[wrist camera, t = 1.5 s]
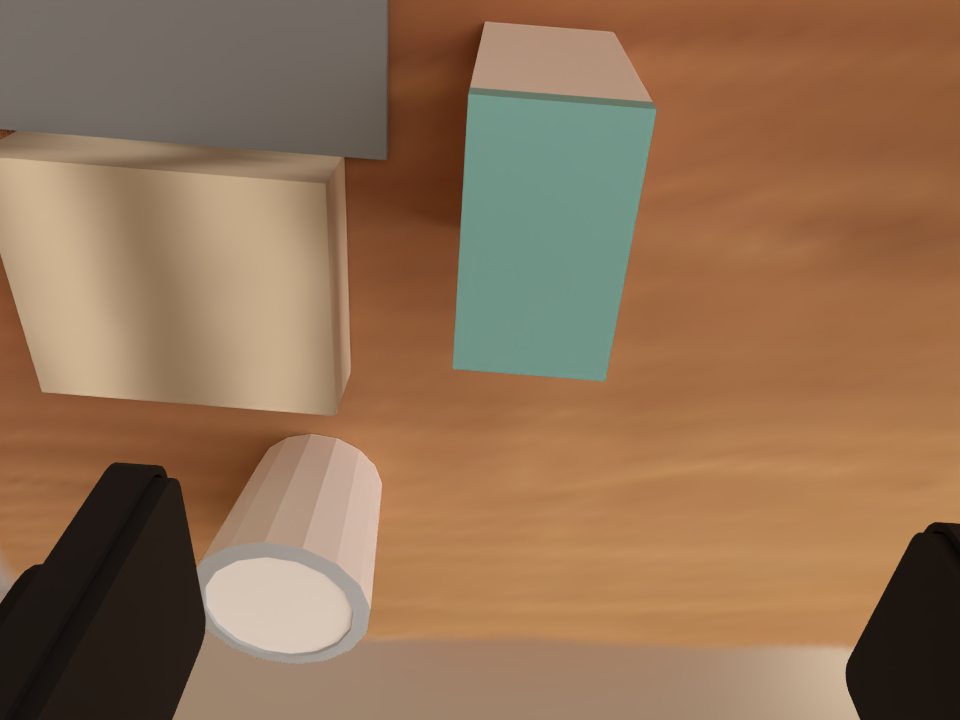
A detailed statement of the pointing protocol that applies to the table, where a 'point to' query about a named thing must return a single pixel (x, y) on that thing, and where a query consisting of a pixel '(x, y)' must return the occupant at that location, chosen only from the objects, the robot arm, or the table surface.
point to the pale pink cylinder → (296, 554)
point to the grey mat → (200, 72)
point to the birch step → (178, 270)
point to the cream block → (548, 200)
